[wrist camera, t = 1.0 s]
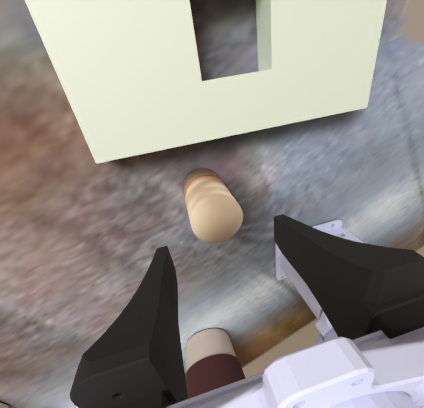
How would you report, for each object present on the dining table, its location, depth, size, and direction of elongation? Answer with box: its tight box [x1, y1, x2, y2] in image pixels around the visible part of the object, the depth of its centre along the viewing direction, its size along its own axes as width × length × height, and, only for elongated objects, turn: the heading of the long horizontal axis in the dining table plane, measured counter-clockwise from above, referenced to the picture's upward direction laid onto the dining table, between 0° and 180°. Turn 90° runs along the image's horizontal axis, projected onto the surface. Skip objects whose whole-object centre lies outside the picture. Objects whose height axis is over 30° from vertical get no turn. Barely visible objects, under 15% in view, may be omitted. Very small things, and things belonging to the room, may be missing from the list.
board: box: [25, 0, 387, 164], centre depth 15 cm, size 24×14×2 cm, turn 99°
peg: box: [182, 168, 243, 243], centre depth 19 cm, size 4×4×7 cm
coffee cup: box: [185, 328, 246, 399], centre depth 28 cm, size 10×10×15 cm
